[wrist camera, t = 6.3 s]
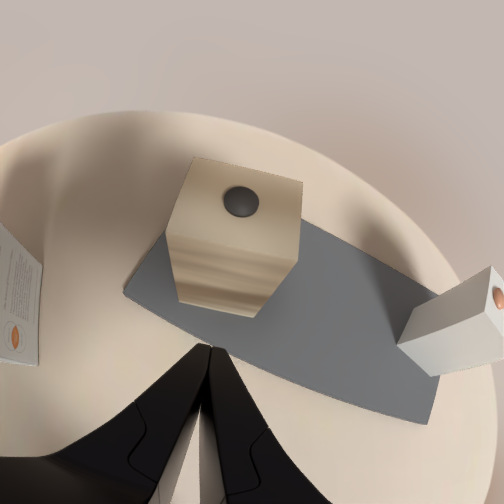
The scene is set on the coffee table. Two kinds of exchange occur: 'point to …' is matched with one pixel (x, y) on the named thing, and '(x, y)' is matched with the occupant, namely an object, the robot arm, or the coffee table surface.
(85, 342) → the coffee table surface
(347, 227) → the coffee table surface
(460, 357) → the tile two
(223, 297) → the tile one
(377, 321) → the mat
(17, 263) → the small box
